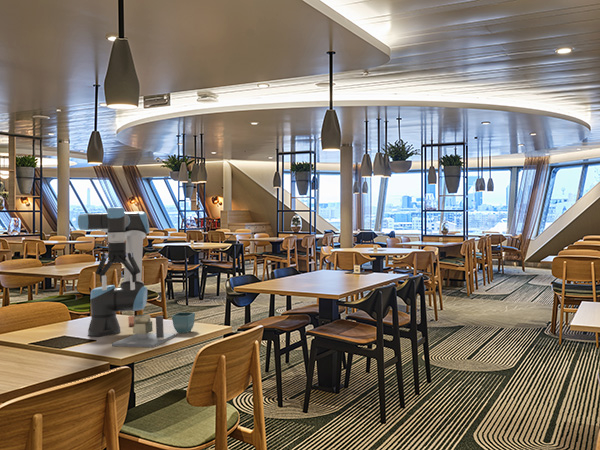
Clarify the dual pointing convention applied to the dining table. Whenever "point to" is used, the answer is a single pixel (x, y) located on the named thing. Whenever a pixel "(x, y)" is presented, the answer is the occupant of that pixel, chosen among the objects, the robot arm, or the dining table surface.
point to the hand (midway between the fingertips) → (118, 290)
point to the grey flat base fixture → (146, 337)
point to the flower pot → (183, 322)
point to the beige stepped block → (140, 324)
